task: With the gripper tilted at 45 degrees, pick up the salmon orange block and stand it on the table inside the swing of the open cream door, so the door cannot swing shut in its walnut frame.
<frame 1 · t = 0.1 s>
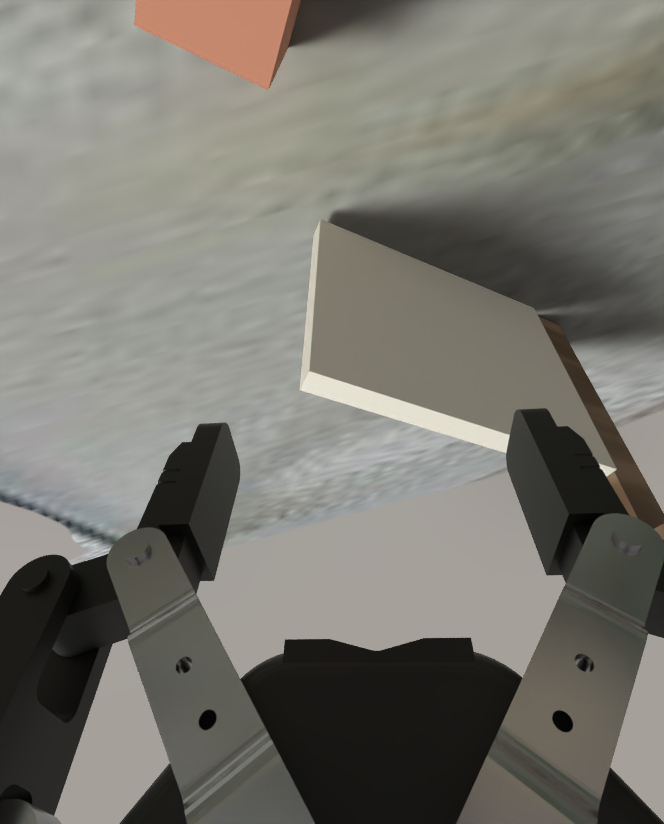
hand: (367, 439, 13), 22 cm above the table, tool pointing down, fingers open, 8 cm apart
door: (441, 345, 28), point 8 cm above the table, hinge at 90.0°
door frame: (639, 218, 31), on the table
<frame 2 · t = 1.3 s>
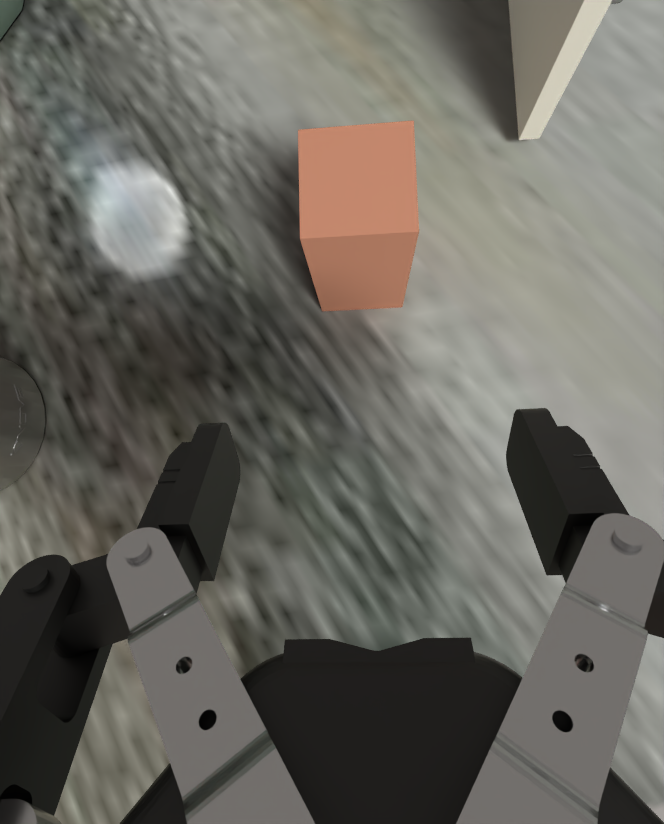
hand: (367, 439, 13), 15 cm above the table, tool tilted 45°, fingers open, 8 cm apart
salmon orange block: (360, 270, 29), on the table
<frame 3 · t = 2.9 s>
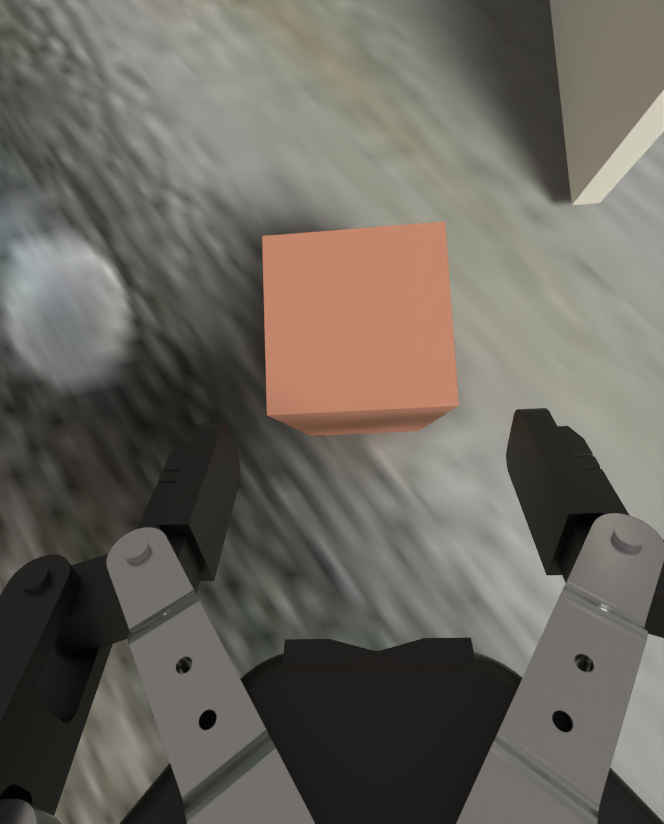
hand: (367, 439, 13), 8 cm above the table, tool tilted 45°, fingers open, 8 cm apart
salmon orange block: (361, 380, 22), on the table
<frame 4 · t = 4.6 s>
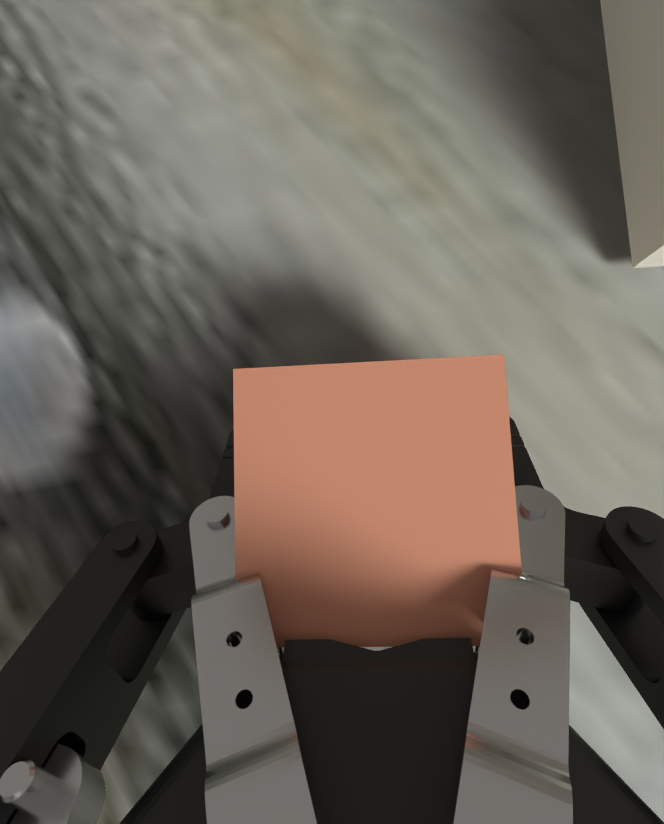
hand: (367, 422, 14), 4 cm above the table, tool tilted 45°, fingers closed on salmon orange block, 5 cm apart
salmon orange block: (370, 480, 18), on the table, touching gripper
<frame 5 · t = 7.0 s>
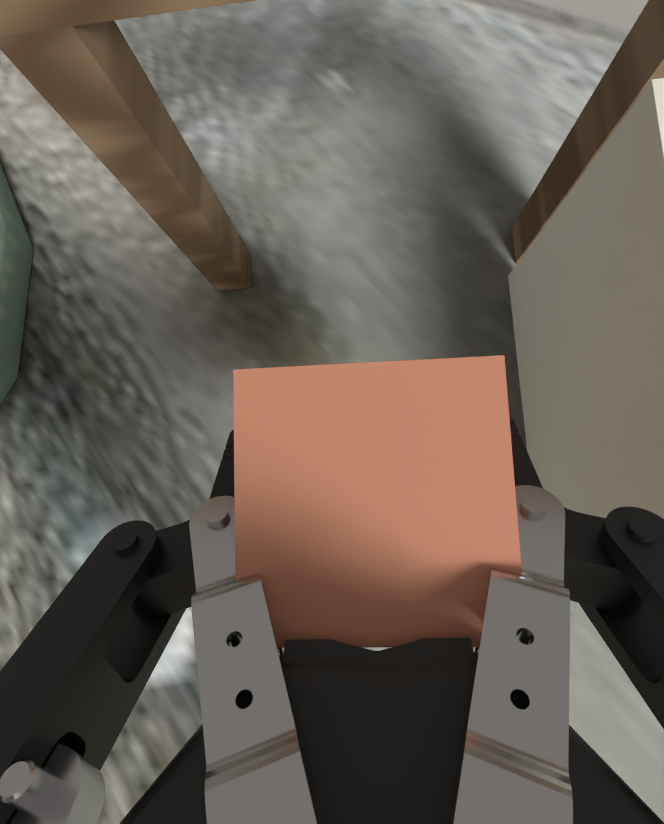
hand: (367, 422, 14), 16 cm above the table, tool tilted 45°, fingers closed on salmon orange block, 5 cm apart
salmon orange block: (371, 480, 18), point 12 cm above the table, touching gripper
door: (605, 391, 20), point 9 cm above the table, hinge at 90.0°
door frame: (379, 258, 31), on the table
when the fingers open (6 cm above the table, at t = 9.6 s): salmon orange block drops 1 cm, on the table.
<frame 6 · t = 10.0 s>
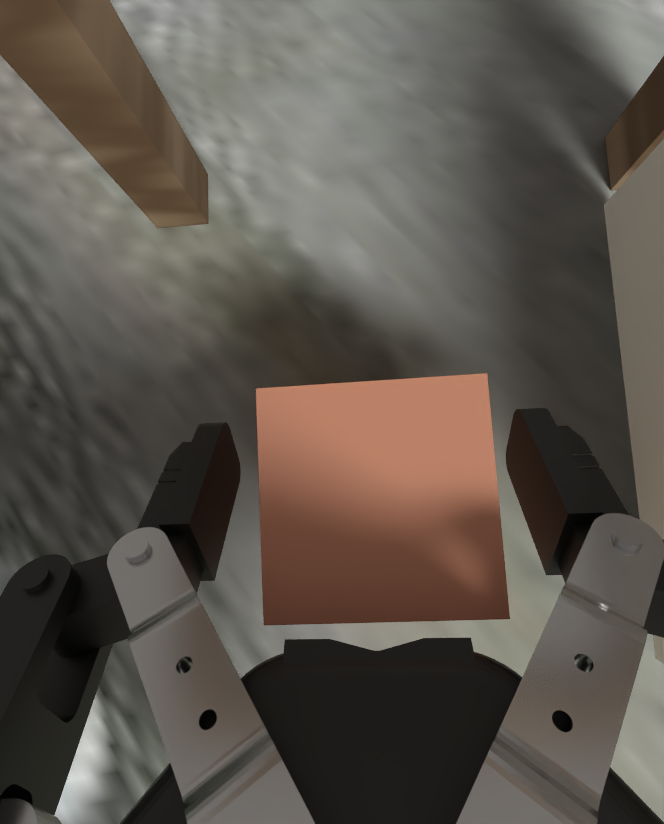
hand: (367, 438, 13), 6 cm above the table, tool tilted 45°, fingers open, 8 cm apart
salmon orange block: (373, 480, 19), on the table
door frame: (401, 181, 20), on the table
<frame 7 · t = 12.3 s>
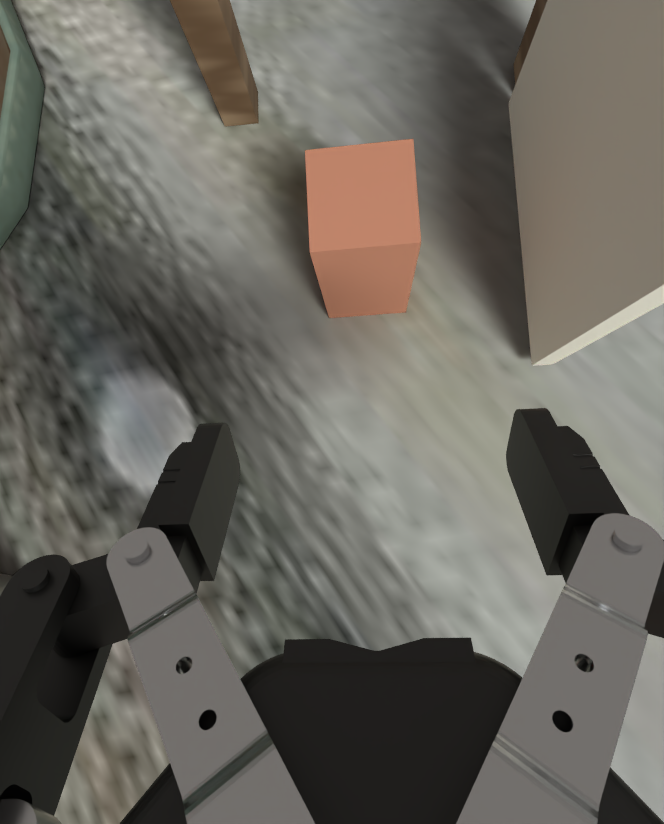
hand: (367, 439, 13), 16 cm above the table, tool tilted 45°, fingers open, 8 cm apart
salmon orange block: (365, 278, 30), on the table
door: (598, 145, 21), point 9 cm above the table, hinge at 90.0°
door frame: (383, 94, 32), on the table
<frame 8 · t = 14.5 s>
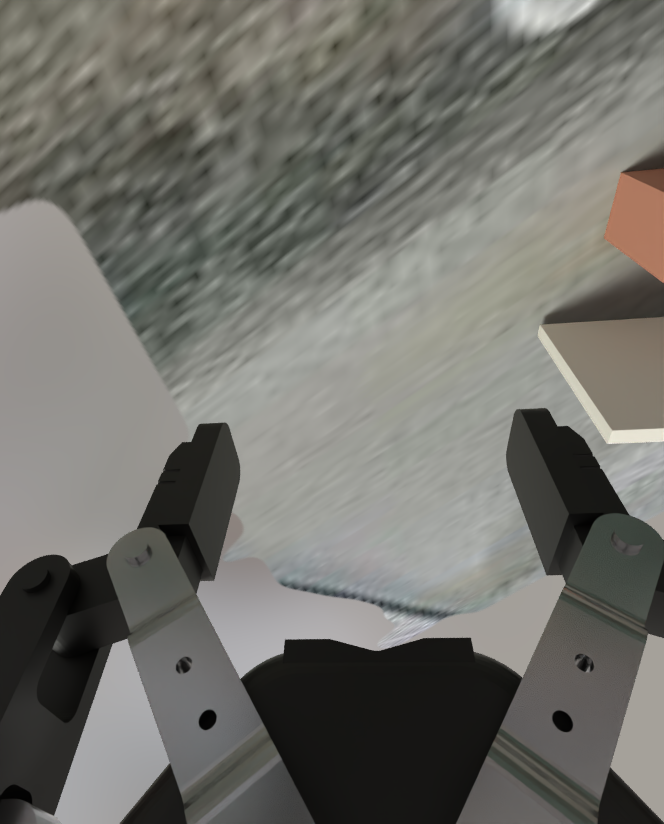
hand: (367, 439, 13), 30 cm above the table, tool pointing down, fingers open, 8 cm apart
salmon orange block: (644, 203, 37), on the table
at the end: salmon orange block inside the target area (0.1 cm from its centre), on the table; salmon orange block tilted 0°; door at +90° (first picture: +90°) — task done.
